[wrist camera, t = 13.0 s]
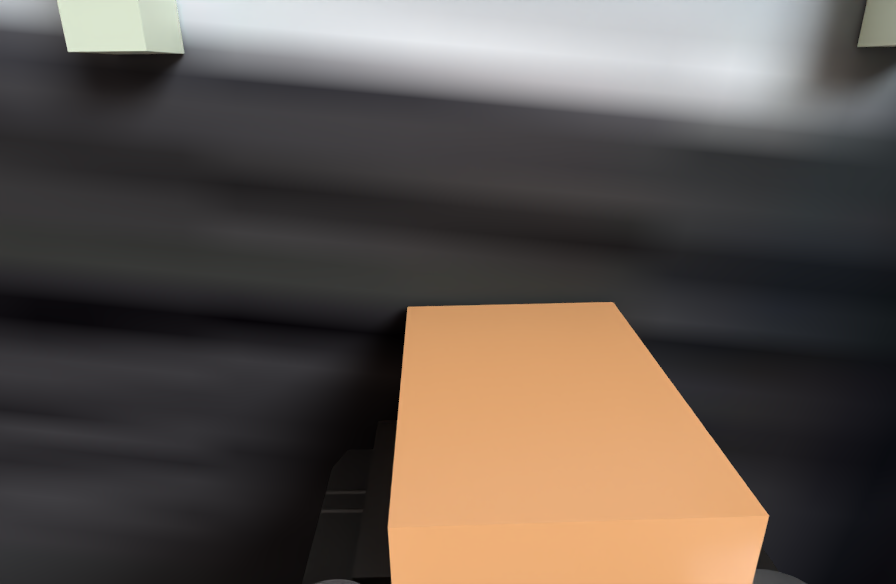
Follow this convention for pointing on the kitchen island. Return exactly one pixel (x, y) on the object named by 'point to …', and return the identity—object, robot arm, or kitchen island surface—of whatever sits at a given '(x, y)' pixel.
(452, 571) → the plug
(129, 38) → the light grey u-shaped piece
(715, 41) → the kitchen island surface
